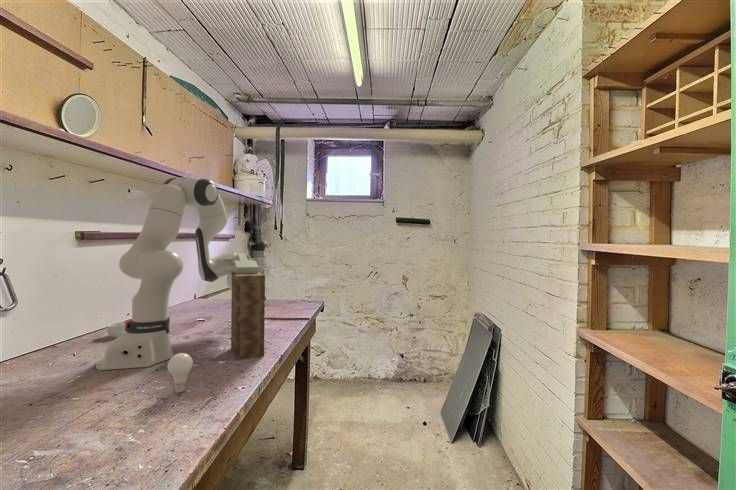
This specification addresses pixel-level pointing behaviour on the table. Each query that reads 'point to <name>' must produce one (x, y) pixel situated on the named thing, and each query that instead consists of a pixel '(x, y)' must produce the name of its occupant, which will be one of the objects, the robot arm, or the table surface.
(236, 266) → the pale green stepped block
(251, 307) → the upright wooden block
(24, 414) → the table surface
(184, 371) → the lightbulb
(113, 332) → the teacup
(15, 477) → the table surface
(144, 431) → the table surface
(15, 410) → the table surface
